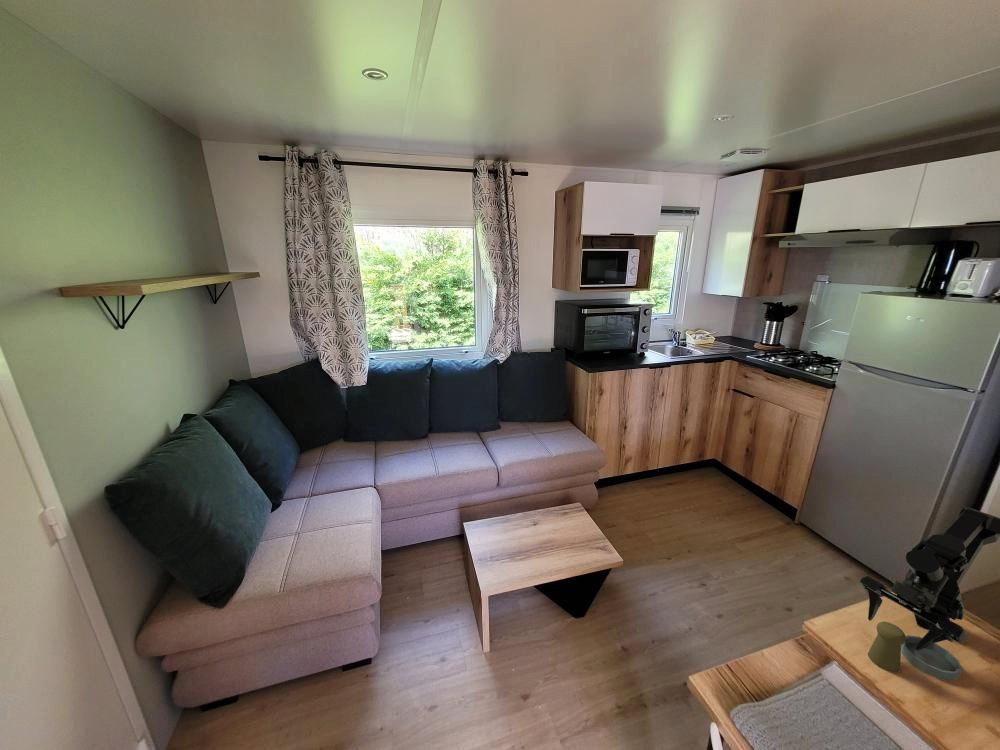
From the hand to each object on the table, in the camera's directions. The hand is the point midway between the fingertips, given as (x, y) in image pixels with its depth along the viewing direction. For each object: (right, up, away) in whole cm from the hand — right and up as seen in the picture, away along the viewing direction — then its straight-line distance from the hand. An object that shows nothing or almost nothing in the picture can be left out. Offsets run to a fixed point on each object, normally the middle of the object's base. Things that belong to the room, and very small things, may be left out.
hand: (892, 634), depth 96 cm
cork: (0, -8, +2) cm, 9 cm away
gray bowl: (+11, -8, +1) cm, 14 cm away
